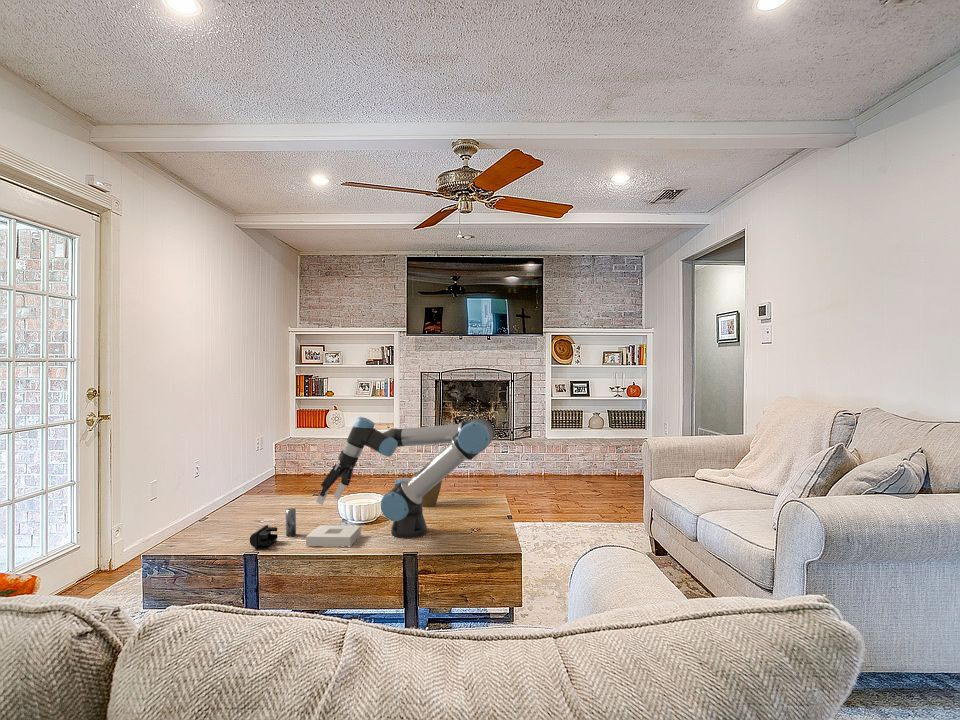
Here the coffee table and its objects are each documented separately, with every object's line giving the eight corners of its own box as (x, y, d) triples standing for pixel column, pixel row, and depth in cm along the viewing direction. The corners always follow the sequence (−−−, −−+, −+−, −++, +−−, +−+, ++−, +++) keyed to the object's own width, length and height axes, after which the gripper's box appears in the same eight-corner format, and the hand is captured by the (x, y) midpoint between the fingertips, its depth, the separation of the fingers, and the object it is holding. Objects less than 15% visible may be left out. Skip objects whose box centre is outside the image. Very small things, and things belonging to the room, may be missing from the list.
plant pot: (410, 508, 264) (409, 476, 264) (418, 500, 279) (417, 470, 278) (439, 510, 261) (438, 477, 261) (446, 501, 276) (445, 470, 276)
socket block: (360, 535, 226) (360, 525, 226) (350, 547, 212) (350, 537, 212) (319, 534, 227) (319, 525, 227) (306, 546, 213) (306, 536, 213)
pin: (297, 533, 229) (297, 508, 229) (293, 536, 225) (293, 510, 225) (288, 533, 229) (288, 508, 229) (284, 536, 225) (284, 510, 225)
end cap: (261, 540, 221) (261, 524, 221) (278, 541, 220) (277, 524, 220) (249, 549, 211) (249, 532, 211) (266, 550, 210) (266, 532, 210)
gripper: (356, 448, 231) (335, 492, 230) (327, 450, 206) (303, 500, 206) (371, 456, 229) (349, 500, 229) (343, 459, 204) (319, 509, 204)
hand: (327, 500), depth 217 cm, fingers open, 13 cm apart
